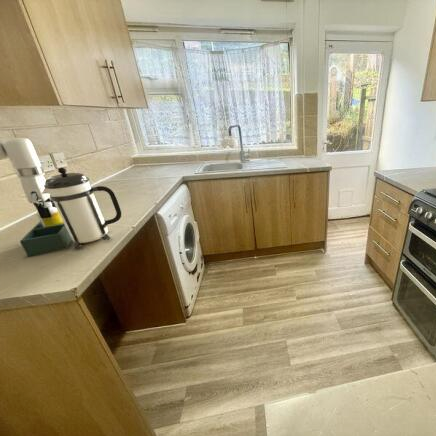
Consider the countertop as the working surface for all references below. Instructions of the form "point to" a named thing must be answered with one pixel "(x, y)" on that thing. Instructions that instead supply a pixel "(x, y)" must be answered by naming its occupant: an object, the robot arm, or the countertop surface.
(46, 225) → the supplement bottle
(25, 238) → the box
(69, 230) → the coffee press
